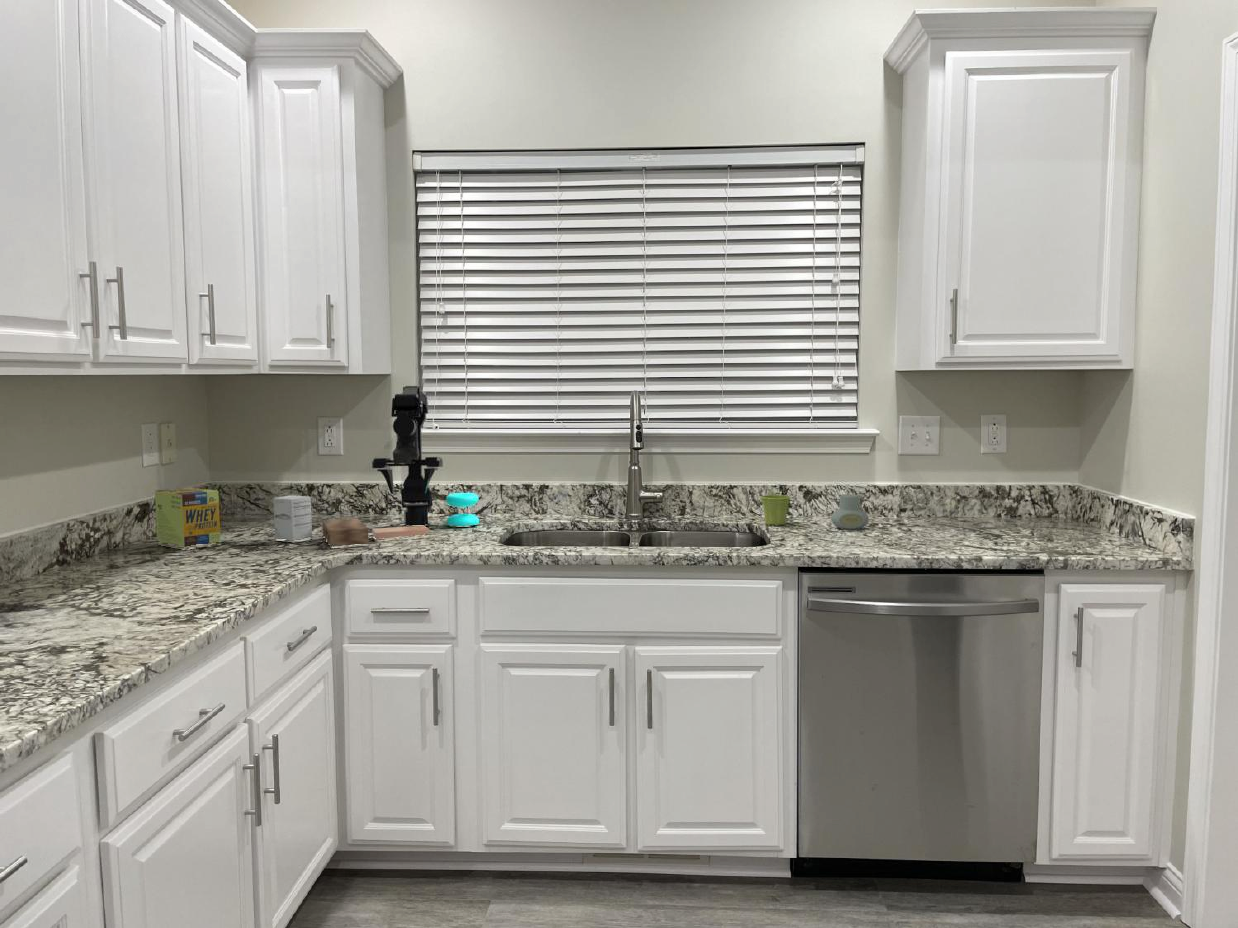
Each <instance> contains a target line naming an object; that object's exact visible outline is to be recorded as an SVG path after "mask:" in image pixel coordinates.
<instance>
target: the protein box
mask: <svg viewBox="0 0 1238 928" xmlns="http://www.w3.org/2000/svg"><path fill="white" fill-rule="evenodd" d="M154 501H155V518H156V519H155V520H156V521H155V523H156V538H157V539H156V542H157V541H159V542H164V543H168V544H176V545H179V546H183V547H186V546H191V545H196V544H208V543H213V542H219V541H221V540H222V539H221V524H220V521H221V520H220V503H219V502H220V501H219V490H216V489H208V488H207V489H206V488H196V487H185V488H183V487H182V488H172V489H170V488H169V489H160V490H159V489H158V490H154Z"/></svg>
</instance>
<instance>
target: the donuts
mask: <svg viewBox="0 0 1238 928" xmlns="http://www.w3.org/2000/svg"><path fill="white" fill-rule="evenodd" d="M445 502H446V503H447V505H449V506H452V507H455V508H465V507H467V508H468V507H473V506H474V505H476V504H478V502H479V496H478V494H476V493H472V492H457V493H451V494H448V495H447V496H446V498H445ZM479 523H480V519H479V517H478V516H477V515H475V514H472V513H457V514H456V513H455V514H453V515H450V516H449V517H448V518H447V519H446V525H447V526H448V525H456V526H466V525H477V524H478V525H479ZM478 525H477V526H478Z"/></svg>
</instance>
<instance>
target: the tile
mask: <svg viewBox="0 0 1238 928" xmlns="http://www.w3.org/2000/svg"><path fill="white" fill-rule="evenodd" d="M371 532H372V533H371V534H373V535H374V537H375V538H376V539H379V538H391V537H399V536H410V535H424V534H429V535H430V528H429V527H426V526H425V525H424V526H409V527H407V526H397V527H383V528H372V529H371Z"/></svg>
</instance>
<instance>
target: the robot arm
mask: <svg viewBox="0 0 1238 928" xmlns="http://www.w3.org/2000/svg"><path fill="white" fill-rule="evenodd" d="M427 414H429V402H428V396H427V395H426V394H425V393H423V391H421V386H418V385H405V386H403V387H402V392H401V393H395V394H394V397H392V400H391V418H395V420H394V421H393V423H392V429H393V432H394V433H395V434H396V444H395V445H396V446H395V448H394V450H393V451H392V459H391V458H387V457H382V458H381V457H377V458H376V457H375V458H374V459H373V460H372V462H371V464H372V467H371V468H372V469H377V472H380V473H381V474H382V475H383V477H384V479H385V482H386V485H387V487H388V490H389V492H390V495H393V494H394V477H393V468H391V467H408V468H407V469H408V470H407V471H408V473H407V476H406V478H405V479H404V481H403V485H402V488H401V491H400V492H401V506H402V507H401V508H402V509H404V508H405V511H403V523H404V526H405V525H425V524H429V513H428V512H429V510H428V509H429V508H430V507H433V494H432V493H433V492H432V491H431V489H430V487H429V486H430V485H429V484H430V483H431V480H432V477H433V475H434V473H435V471H439V468H443V464H444V462H443V458H442V457H441V456H430V457H428V456H425V458H423V454H422V453H423V452H422V449H423V448H422V444H423V443H422V427H423V425H424V424H425V422H426V420H427ZM422 458H423V459H422ZM423 466H425V468H423ZM390 468H391V469H390ZM423 472H424V474H423Z"/></svg>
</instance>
